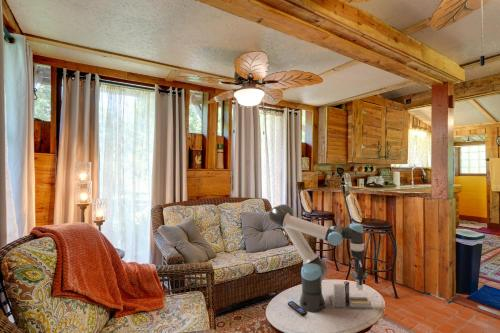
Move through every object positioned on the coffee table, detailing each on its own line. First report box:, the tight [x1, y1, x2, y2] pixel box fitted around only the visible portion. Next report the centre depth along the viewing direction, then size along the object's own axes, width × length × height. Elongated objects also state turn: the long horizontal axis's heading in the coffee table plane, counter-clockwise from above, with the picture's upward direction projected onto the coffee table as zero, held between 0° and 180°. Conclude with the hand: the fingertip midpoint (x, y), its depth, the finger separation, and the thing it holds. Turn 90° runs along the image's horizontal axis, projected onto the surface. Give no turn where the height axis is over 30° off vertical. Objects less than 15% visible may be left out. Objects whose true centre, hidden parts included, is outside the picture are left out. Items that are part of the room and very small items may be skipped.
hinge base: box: [329, 280, 373, 310], centre depth 164 cm, size 22×12×13 cm, turn 82°
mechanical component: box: [349, 271, 369, 281], centre depth 164 cm, size 3×10×10 cm, turn 81°
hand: (359, 288), depth 163 cm, fingers closed on mechanical component, 3 cm apart
